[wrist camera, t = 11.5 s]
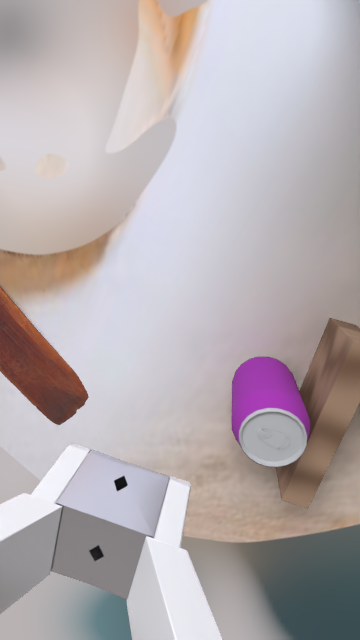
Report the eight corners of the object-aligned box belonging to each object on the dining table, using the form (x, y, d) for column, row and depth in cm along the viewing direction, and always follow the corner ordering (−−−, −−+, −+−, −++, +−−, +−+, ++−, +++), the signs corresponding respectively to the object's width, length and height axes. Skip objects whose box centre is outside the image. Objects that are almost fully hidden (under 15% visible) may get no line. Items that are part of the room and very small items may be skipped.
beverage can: (222, 392, 43) (217, 451, 32) (248, 343, 41) (254, 389, 29) (275, 417, 43) (289, 486, 32) (305, 369, 41) (332, 426, 29)
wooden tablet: (-68, 291, 47) (-78, 293, 45) (-27, 248, 44) (-37, 248, 42) (54, 428, 50) (48, 435, 49) (99, 396, 47) (95, 402, 46)
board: (330, 318, 38) (353, 341, 31) (355, 325, 38) (385, 350, 30) (273, 452, 44) (281, 499, 37) (295, 459, 44) (307, 508, 37)
